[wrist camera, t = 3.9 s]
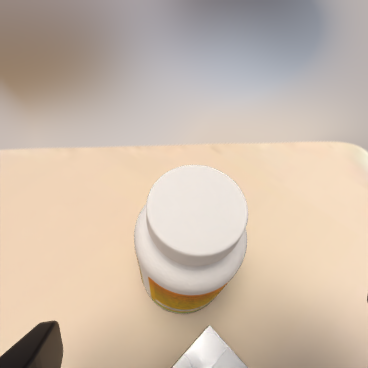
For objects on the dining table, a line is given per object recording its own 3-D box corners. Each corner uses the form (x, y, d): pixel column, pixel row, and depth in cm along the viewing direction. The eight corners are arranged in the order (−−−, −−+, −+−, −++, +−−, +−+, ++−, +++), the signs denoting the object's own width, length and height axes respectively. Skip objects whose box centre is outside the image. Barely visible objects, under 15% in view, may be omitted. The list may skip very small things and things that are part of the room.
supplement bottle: (237, 283, 19) (297, 226, 10) (169, 333, 17) (177, 310, 9) (192, 221, 21) (212, 133, 13) (127, 259, 19) (102, 184, 11)
